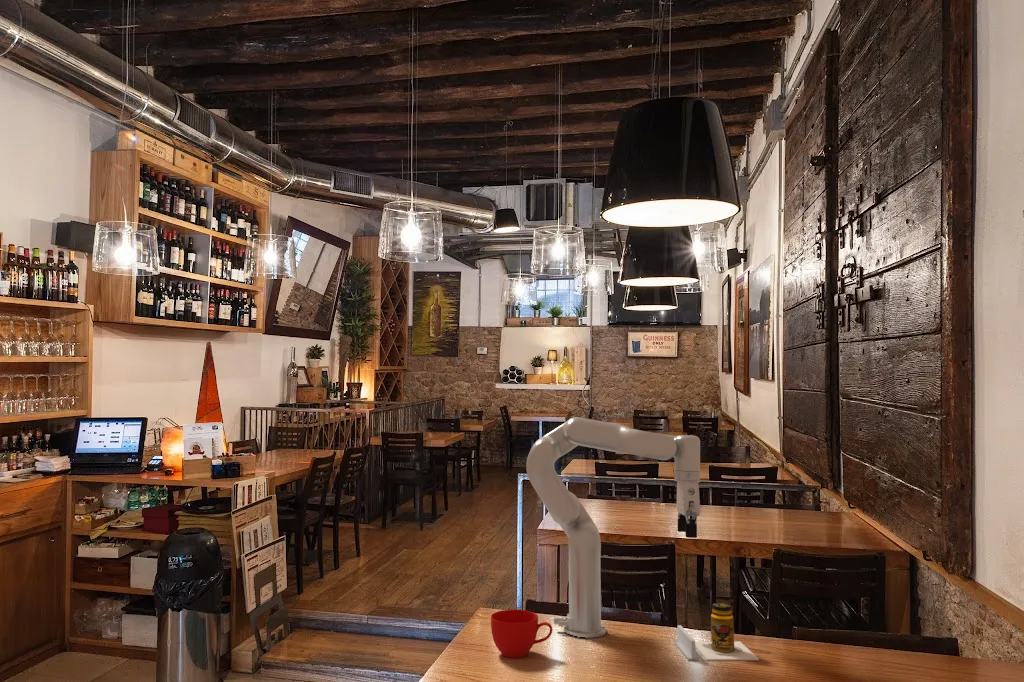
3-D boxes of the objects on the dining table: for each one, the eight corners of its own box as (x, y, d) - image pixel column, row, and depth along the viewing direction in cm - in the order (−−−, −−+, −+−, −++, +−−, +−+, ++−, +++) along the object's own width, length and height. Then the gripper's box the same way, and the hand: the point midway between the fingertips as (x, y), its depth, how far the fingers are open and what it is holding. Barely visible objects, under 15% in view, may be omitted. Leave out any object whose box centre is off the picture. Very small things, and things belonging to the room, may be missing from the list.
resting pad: (706, 660, 188) (706, 658, 188) (691, 643, 202) (691, 641, 202) (758, 660, 189) (758, 658, 189) (740, 642, 203) (740, 641, 203)
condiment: (719, 654, 192) (718, 609, 193) (701, 644, 200) (700, 600, 201) (742, 652, 194) (741, 606, 195) (723, 642, 202) (722, 598, 203)
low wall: (688, 660, 188) (687, 641, 189) (674, 643, 202) (673, 625, 203) (699, 660, 188) (698, 641, 189) (684, 643, 202) (684, 625, 203)
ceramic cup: (548, 665, 185) (548, 625, 186) (485, 660, 188) (485, 621, 189) (555, 649, 197) (555, 611, 198) (496, 644, 201) (496, 608, 202)
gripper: (707, 479, 205) (707, 540, 204) (692, 474, 223) (692, 529, 221) (681, 479, 205) (681, 539, 204) (668, 473, 223) (667, 529, 221)
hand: (687, 534), depth 212 cm, fingers open, 9 cm apart
